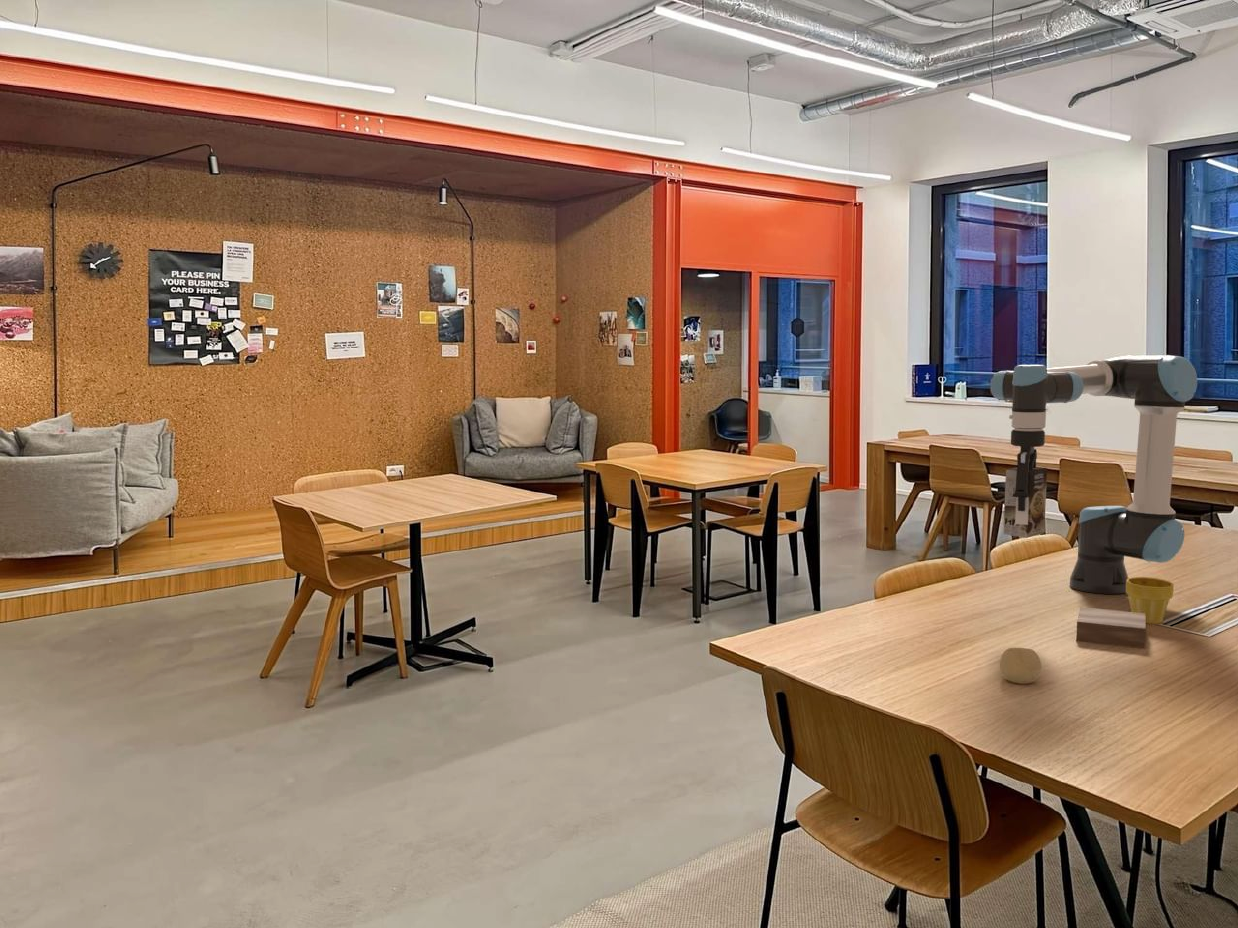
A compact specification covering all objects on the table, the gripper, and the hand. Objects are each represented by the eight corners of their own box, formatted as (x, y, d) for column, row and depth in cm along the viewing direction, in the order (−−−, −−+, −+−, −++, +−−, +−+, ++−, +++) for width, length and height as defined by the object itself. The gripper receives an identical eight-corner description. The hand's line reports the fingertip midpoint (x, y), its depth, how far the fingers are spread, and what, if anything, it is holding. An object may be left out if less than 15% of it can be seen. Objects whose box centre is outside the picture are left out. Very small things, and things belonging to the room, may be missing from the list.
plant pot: (1177, 626, 239) (1180, 587, 238) (1131, 625, 241) (1133, 585, 240) (1163, 615, 249) (1165, 577, 248) (1118, 613, 251) (1120, 576, 250)
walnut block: (1079, 626, 241) (1080, 606, 241) (1144, 633, 235) (1145, 613, 234) (1076, 642, 229) (1077, 621, 228) (1144, 650, 223) (1145, 628, 222)
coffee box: (1028, 538, 235) (1030, 471, 234) (1002, 534, 240) (1004, 468, 238) (1046, 533, 241) (1048, 467, 239) (1020, 529, 246) (1022, 465, 244)
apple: (1007, 686, 198) (994, 649, 201) (1007, 690, 205) (994, 654, 208) (1048, 676, 196) (1034, 639, 199) (1045, 681, 203) (1032, 644, 206)
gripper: (1018, 425, 249) (1015, 512, 252) (1003, 432, 230) (1000, 527, 233) (1050, 426, 246) (1047, 514, 248) (1038, 433, 226) (1035, 529, 229)
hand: (1024, 520), depth 240 cm, fingers closed on coffee box, 10 cm apart
